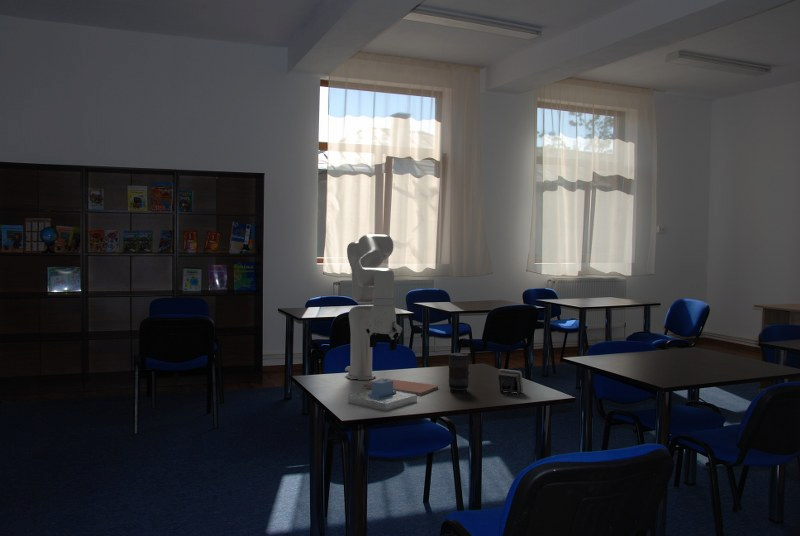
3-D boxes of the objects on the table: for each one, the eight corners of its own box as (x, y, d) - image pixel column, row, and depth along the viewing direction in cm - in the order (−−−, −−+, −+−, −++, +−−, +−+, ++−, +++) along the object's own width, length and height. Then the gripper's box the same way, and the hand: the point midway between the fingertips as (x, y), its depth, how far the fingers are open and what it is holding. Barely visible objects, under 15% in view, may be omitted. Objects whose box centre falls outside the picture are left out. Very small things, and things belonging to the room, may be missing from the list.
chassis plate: (348, 402, 236) (348, 395, 236) (379, 394, 250) (380, 388, 250) (385, 410, 225) (385, 403, 225) (416, 401, 239) (416, 394, 239)
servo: (377, 404, 233) (377, 382, 233) (367, 402, 236) (368, 380, 236) (396, 399, 242) (396, 377, 241) (387, 397, 244) (387, 376, 244)
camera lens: (457, 388, 263) (457, 351, 262) (472, 391, 257) (473, 354, 257) (444, 391, 257) (444, 353, 257) (459, 394, 251) (460, 356, 251)
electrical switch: (523, 392, 256) (523, 370, 255) (519, 396, 252) (518, 373, 250) (501, 390, 261) (501, 367, 260) (496, 393, 256) (496, 371, 255)
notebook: (361, 389, 261) (361, 384, 261) (382, 382, 276) (382, 377, 275) (419, 397, 247) (419, 392, 247) (439, 389, 262) (439, 384, 262)
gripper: (359, 301, 240) (358, 347, 241) (395, 304, 229) (394, 352, 230) (372, 300, 246) (372, 344, 247) (408, 303, 235) (407, 349, 236)
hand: (382, 348), depth 238 cm, fingers open, 9 cm apart
